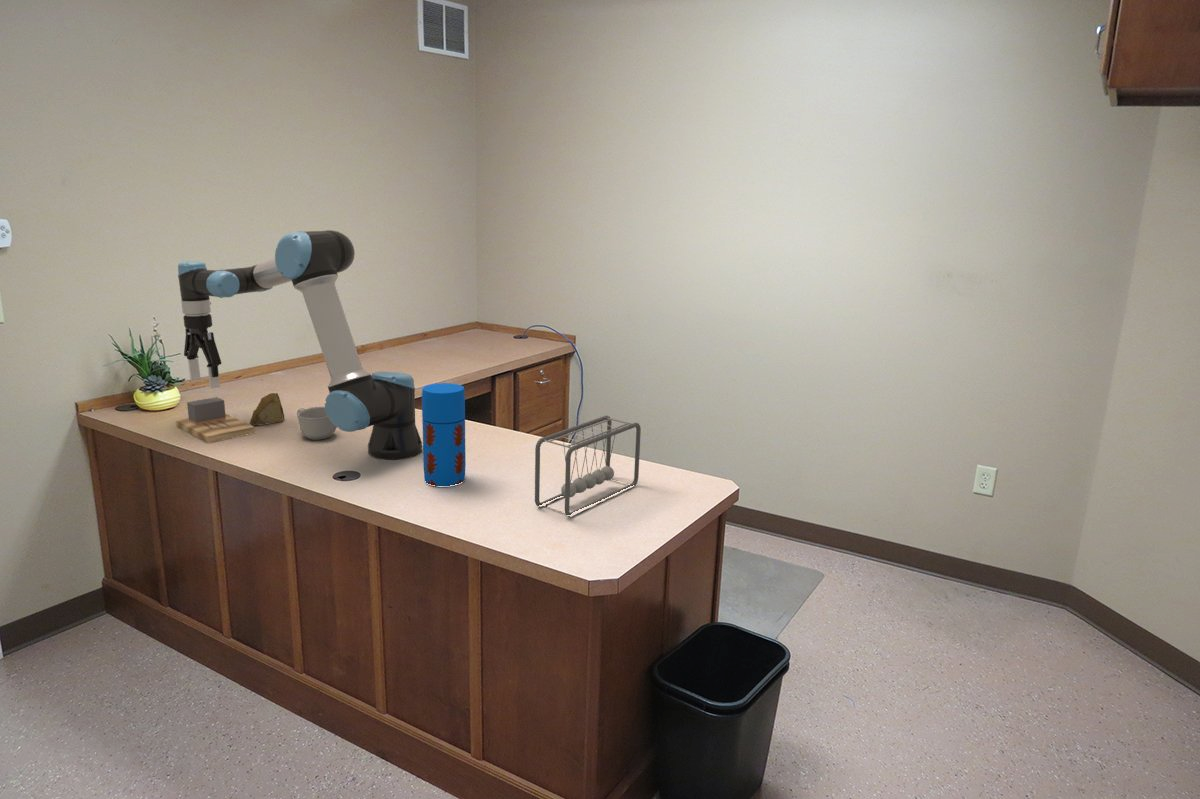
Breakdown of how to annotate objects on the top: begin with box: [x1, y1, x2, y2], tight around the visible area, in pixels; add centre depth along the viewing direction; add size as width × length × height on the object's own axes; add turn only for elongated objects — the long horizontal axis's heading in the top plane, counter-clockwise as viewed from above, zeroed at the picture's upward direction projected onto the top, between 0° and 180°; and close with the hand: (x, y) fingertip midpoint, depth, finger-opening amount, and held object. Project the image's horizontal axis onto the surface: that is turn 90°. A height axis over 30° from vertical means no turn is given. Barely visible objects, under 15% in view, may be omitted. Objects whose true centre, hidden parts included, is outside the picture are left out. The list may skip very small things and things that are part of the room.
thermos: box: [421, 382, 467, 486], centre depth 212 cm, size 11×11×25 cm
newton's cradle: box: [534, 415, 641, 516], centre depth 205 cm, size 30×10×18 cm, turn 143°
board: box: [175, 413, 256, 444], centre depth 249 cm, size 22×14×2 cm, turn 48°
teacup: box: [296, 406, 337, 441], centre depth 246 cm, size 14×11×8 cm
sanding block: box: [186, 396, 226, 425], centre depth 251 cm, size 5×9×6 cm, turn 138°
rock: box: [249, 392, 285, 427], centre depth 258 cm, size 11×9×10 cm
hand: (205, 383), depth 249 cm, fingers open, 13 cm apart
